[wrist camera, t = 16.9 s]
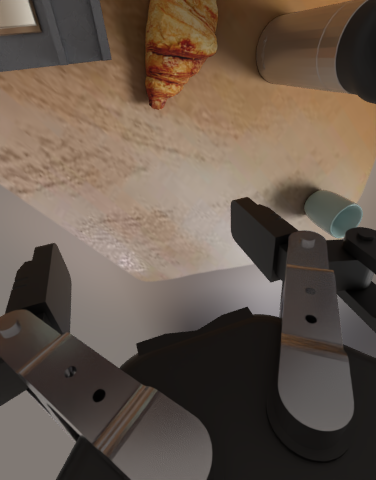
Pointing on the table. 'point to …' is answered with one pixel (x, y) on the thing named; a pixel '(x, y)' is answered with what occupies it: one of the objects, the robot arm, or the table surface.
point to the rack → (58, 37)
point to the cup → (333, 212)
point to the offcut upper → (16, 14)
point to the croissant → (177, 45)
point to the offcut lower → (23, 29)
